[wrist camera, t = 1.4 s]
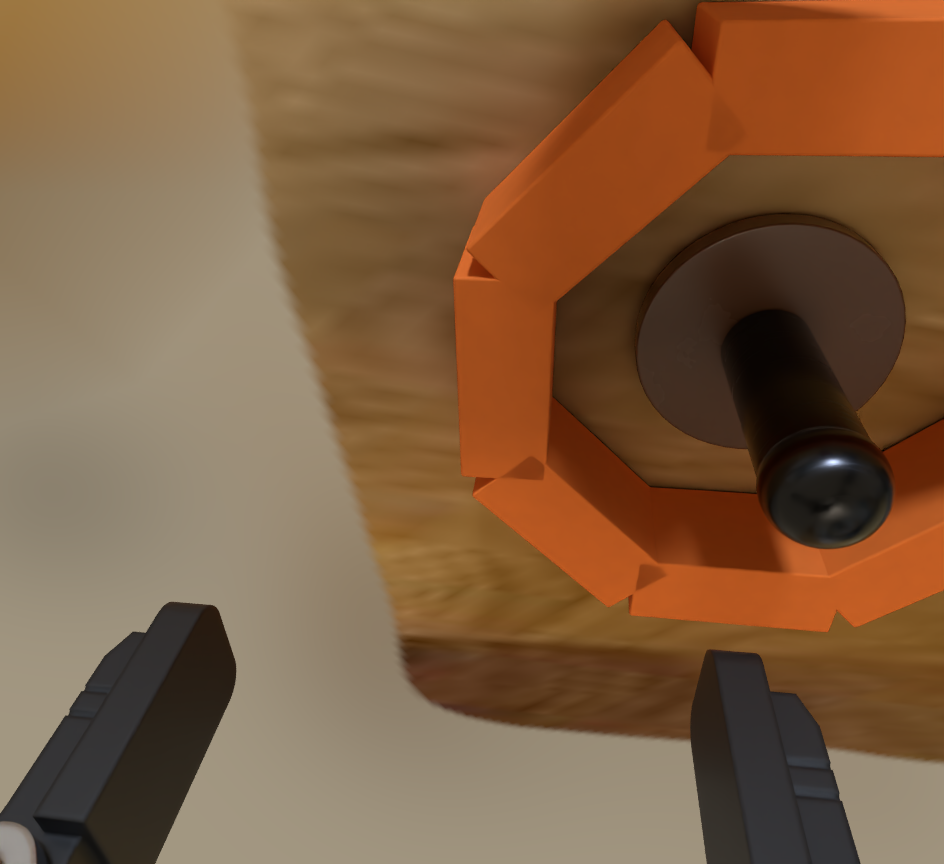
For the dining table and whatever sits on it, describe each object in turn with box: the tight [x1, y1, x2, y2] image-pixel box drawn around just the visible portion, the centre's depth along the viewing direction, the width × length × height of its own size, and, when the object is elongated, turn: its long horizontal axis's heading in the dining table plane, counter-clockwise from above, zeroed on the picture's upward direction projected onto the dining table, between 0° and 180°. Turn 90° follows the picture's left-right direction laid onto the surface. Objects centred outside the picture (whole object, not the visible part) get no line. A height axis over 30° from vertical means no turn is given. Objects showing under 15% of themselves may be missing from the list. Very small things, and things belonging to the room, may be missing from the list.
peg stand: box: [635, 214, 906, 550], centre depth 17 cm, size 7×7×8 cm
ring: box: [453, 0, 944, 632], centre depth 19 cm, size 16×16×4 cm
